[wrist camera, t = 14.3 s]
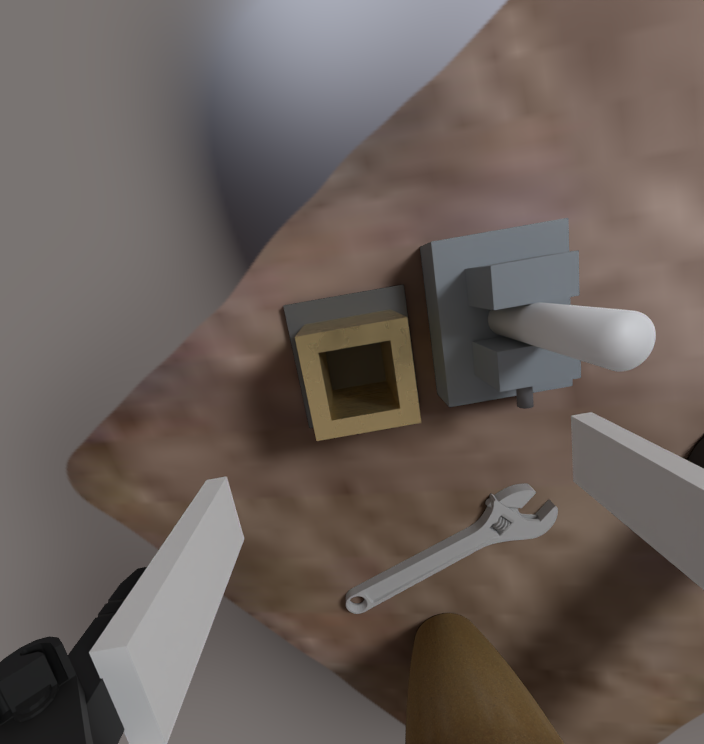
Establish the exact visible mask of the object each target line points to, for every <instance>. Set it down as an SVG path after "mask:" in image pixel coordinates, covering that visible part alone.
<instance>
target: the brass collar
mask: <svg viewBox="0 0 704 744" xmlns="http://www.w3.org/2000/svg"><path fill="white" fill-rule="evenodd" d="M295 341H296V345H297V350H298V355H299V360H300V365H301V369H302V374H303V379H304V384H305V388H306V393H307V398H308V403H309V407H310V412H311V417H312V422H313V427H314V431H315V436H316V441H320V440H326V439H331V438H337V437H343V436H348V435H354V434H360V433H366V432H371V431H377V430H383V429H388V428H394V427H400V426H406V425H411V424H417V423H421V417H420V409H419V402H418V394H417V387H416V379H415V372H414V364H413V357H412V349H411V342H410V334H409V326H408V319H407V317H406V316H404V315H401V314H399V313H397V312H395V311H393V310H385V311H379V312H373V313H368V314H362V315H356V316H351V317H345V318H339V319H334V320H328V321H322V322H316V323H311V324H305V325H304V326H303V327H302V328H301V330H300V331H299V332H298V333H297V335H296V336H295ZM377 342H380V343H381V350H382V357H383V363H384V370H385V376H386V381H382V382H377V383H371V384H365V385H359V386H354V387H348V388H342V389H337V390H333V389H332V384H331V379H330V374H329V368H328V363H327V358H326V353H325V352H326V351H332V350H338V349H343V348H349V347H355V346H360V345H366V344H372V343H377Z"/></svg>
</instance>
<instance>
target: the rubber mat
mask: <svg viewBox="0 0 704 744" xmlns="http://www.w3.org/2000/svg"><path fill="white" fill-rule="evenodd" d="M283 307H284V312H285V316H286V321H287V326H288V330H289V335H290V340H291V344H292V349H293V354H294V359H295V363H296V368H297V373H298V377H299V382H300V387H301V391H302V396H303V401H304V406H305V410H306V415H307V420H308V424H309V428H314V427H313V422H312V417H311V412H310V407H309V403H308V398H307V393H306V388H305V384H304V379H303V374H302V369H301V365H300V360H299V355H298V350H297V345H296V341H295V336H296V335H297V333H298V332H299V331H300V330H301V328H302V327H303V326H304V325H305V324H311V323H316V322H322V321H328V320H334V319H339V318H345V317H351V316H356V315H362V314H368V313H373V312H379V311H385V310H393V311H395V312H397V313H399V314H401V315H404V316H406V317H407V319H408V314H407V307H406V299H405V292H404V285H398V286H392V287H386V288H380V289H375V290H369V291H363V292H358V293H352V294H346V295H341V296H335V297H329V298H323V299H318V300H312V301H306V302H301V303H295V304H289V305H284V306H283ZM408 326H409V322H408ZM409 334H410V329H409ZM410 342H411V337H410ZM411 349H412V344H411ZM325 353H326V358H327V363H328V368H329V374H330V379H331V384H332V389H333V390H337V389H342V388H348V387H354V386H359V385H365V384H371V383H377V382H382V381H386V376H385V370H384V363H383V357H382V350H381V343H380V342H377V343H372V344H366V345H360V346H355V347H349V348H343V349H338V350H332V351H326V352H325ZM412 357H413V352H412ZM413 364H414V360H413ZM414 372H415V367H414ZM415 379H416V375H415ZM416 387H417V382H416ZM417 394H418V390H417ZM418 402H419V397H418ZM419 409H420V405H419Z"/></svg>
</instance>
